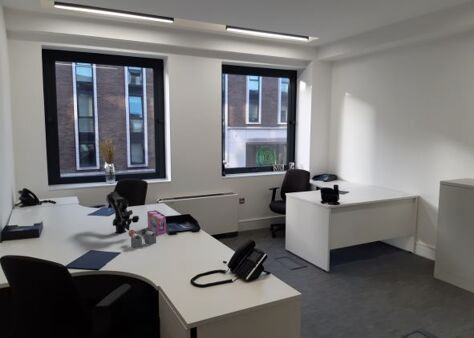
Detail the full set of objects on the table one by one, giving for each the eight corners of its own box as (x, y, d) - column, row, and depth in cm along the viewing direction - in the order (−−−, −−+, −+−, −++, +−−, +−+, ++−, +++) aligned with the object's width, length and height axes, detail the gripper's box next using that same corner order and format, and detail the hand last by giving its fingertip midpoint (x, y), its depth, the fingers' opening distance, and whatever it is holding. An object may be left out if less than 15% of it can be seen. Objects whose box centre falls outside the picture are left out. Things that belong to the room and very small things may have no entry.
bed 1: (131, 246, 255) (130, 235, 254) (139, 244, 258) (139, 234, 257) (133, 248, 250) (133, 237, 249) (142, 246, 254) (141, 236, 253)
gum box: (167, 233, 284) (166, 216, 282) (157, 235, 280) (156, 217, 278) (156, 225, 304) (156, 210, 303) (147, 227, 300) (146, 211, 299)
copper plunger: (128, 237, 260) (128, 230, 260) (135, 235, 263) (135, 229, 262) (132, 240, 253) (132, 233, 252) (139, 239, 256) (139, 232, 255)
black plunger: (141, 235, 263) (141, 229, 263) (147, 234, 267) (147, 227, 266) (149, 238, 258) (148, 231, 257) (154, 236, 261) (154, 229, 261)
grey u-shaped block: (144, 243, 261) (144, 233, 260) (151, 241, 265) (151, 231, 264) (149, 244, 257) (148, 234, 256) (156, 242, 262) (155, 232, 261)
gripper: (112, 208, 265) (117, 226, 257) (137, 205, 275) (143, 222, 268) (110, 216, 273) (115, 234, 265) (134, 213, 283) (140, 230, 275)
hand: (128, 230), depth 268 cm, fingers closed
